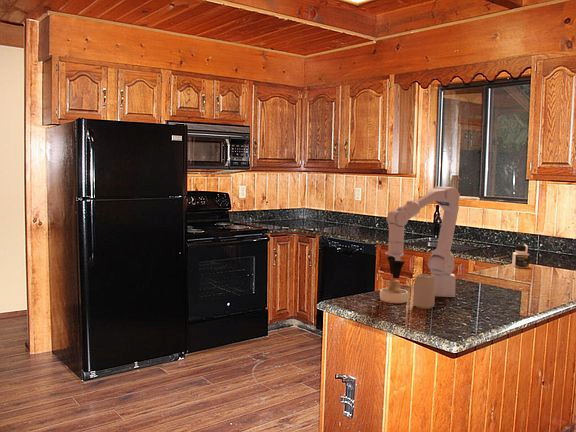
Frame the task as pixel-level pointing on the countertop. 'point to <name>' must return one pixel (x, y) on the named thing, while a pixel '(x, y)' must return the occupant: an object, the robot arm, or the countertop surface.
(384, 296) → the beige shallow bowl
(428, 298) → the can
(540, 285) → the countertop surface
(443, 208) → the robot arm
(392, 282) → the beige rectangular block
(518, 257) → the medicine bottle
